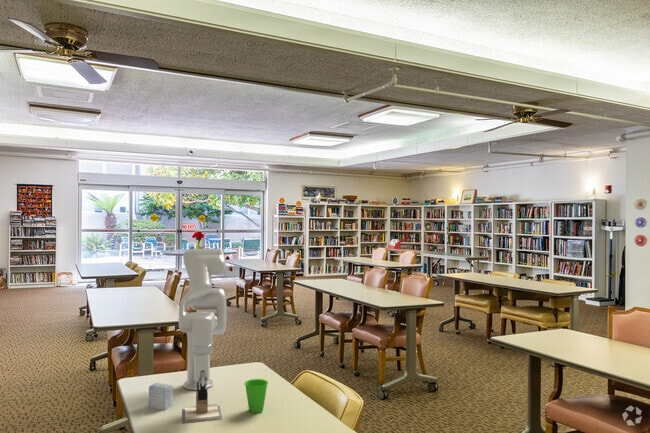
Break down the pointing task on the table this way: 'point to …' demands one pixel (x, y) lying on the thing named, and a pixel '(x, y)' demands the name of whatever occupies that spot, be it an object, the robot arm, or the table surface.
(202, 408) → the lid
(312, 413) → the table surface
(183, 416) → the mat
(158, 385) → the medicine box
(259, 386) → the cup
